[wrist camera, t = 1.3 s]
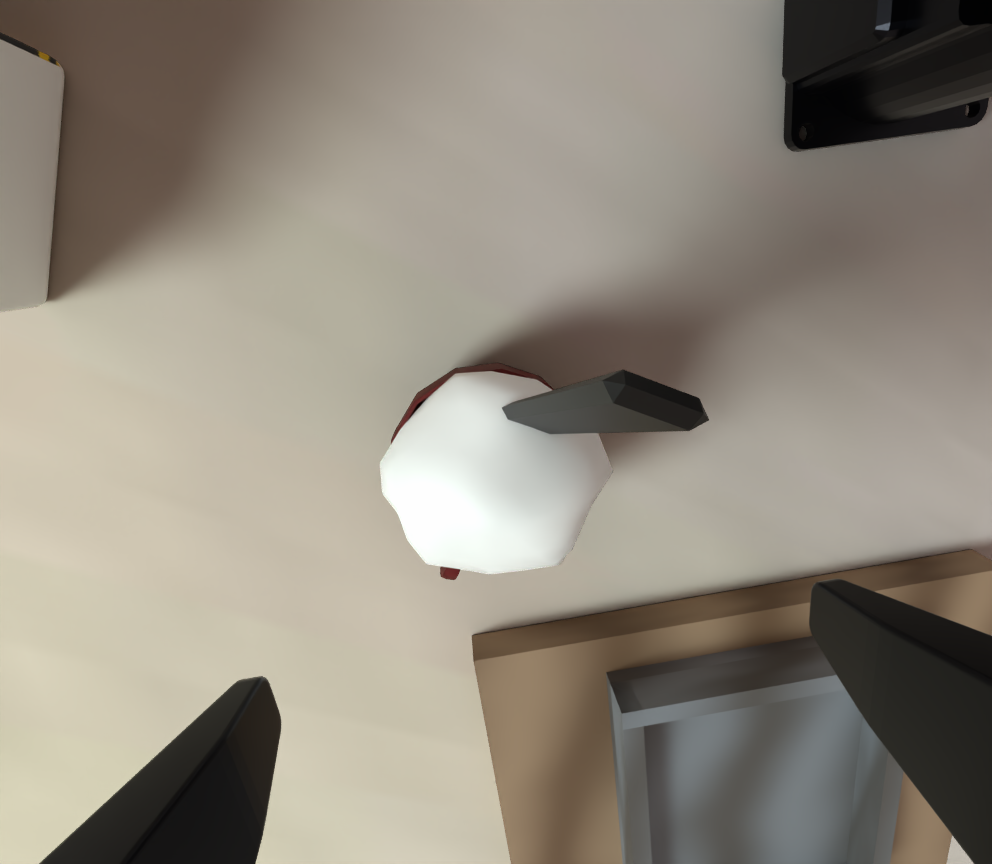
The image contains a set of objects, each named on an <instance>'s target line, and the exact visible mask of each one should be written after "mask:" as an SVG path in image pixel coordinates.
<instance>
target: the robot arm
mask: <svg viewBox="0 0 992 864" xmlns="http://www.w3.org/2000/svg"><path fill="white" fill-rule="evenodd" d="M782 76H783V77H784V79H785V81H786V86H785V116H784V141H785V144H786V146H787V148H788V149H790V150H792V151H797V152H799V151H806V150H813V149H820V148H827V147H834V146H841V145H848V144H856V143H863V142H870V141H877V140H884V139H891V138H898V137H905V136H912V135H919V134H927V133H934V132H941V131H948V130H955V129H961V128H965V127H970V126H973V125H975V124H977V123H978V122H979V121H981V120H982V118H983V117H984V115H985V113H986V110H987V107H988V100H989V97H992V0H785V5H784V37H783V68H782ZM966 105H968V106H969V112H968V115H967V116H966V115H965V108H966ZM801 126H803V127H804V128H805V129H806V133H807V134H806V137H805V139H804V140H803V141H802V140H801V139H800V138H799V130H800V128H801ZM809 626H810V631H811V634H812V636H813V638H814V640H815V641H816V643H817V645H818V646H819V648H820V649H821V651H822V653H823V654H824V656H825V657H826V659H827V660H828V662H829V664H830V665H831V667H832V668H833V670H834V672H835V673H836V675H837V676H838V678H839V680H840V681H841V683H842V684H843V686H844V688H845V689H846V691H847V692H848V694H849V696H850V697H851V699H852V700H853V702H854V703H855V705H856V707H857V708H858V710H859V711H860V713H861V714H862V716H863V717H864V719H865V720H866V722H867V723H868V725H869V726H870V728H871V729H872V730H873V732H874V733H875V734H876V736H877V737H878V738H879V740H880V741H881V742H882V744H883V745H884V746H885V748H886V749H887V750H888V752H889V753H890V754H891V755H892V757H893V758H894V759H895V761H896V762H897V763H898V765H899V766H900V767H901V769H902V770H903V771H904V772H905V774H906V775H907V776H908V778H909V779H910V780H911V782H912V783H913V784H914V786H915V787H916V788H917V790H918V791H919V792H920V793H921V795H922V796H923V797H924V799H925V800H926V801H927V803H928V804H929V805H930V807H931V808H932V809H933V810H934V812H935V813H936V814H937V816H938V817H939V818H940V820H941V821H942V822H943V824H944V825H945V826H946V827H947V829H948V830H949V831H950V833H951V834H952V835H953V837H954V838H955V839H956V841H957V842H958V843H959V844H960V846H961V847H962V848H963V850H964V851H965V852H966V854H967V855H968V856H969V858H970V859H971V860H972V861H973V863H974V864H992V636H991V635H989V634H986V633H983V632H981V631H978V630H975V629H973V628H970V627H968V626H965V625H962V624H960V623H957V622H954V621H952V620H949V619H946V618H944V617H941V616H938V615H936V614H933V613H930V612H928V611H925V610H922V609H920V608H917V607H914V606H912V605H909V604H906V603H904V602H901V601H899V600H896V599H893V598H891V597H888V596H885V595H883V594H880V593H877V592H875V591H872V590H869V589H867V588H864V587H861V586H859V585H856V584H853V583H851V582H848V581H846V580H843V579H830V580H824V581H819V582H816V583H815V584H814V585H813V586H812V589H811V600H810V615H809ZM280 733H281V717H280V713H279V710H278V707H277V704H276V701H275V698H274V695H273V692H272V689H271V687H270V684H269V682H268V680H267V679H266V678H265V677H262V676H260V677H254V678H248V679H242V680H239V681H237V682H236V683H235V684H233V685H232V686H231V687H230V688H229V689H228V690H227V691H226V692H225V693H224V694H223V695H222V696H220V697H219V698H218V699H217V700H216V701H215V702H214V703H213V704H212V705H211V706H210V707H209V708H207V709H206V710H205V711H204V712H203V713H202V714H201V715H200V716H199V717H198V718H197V719H196V720H194V721H193V722H192V723H191V724H190V725H189V726H188V727H187V728H186V729H185V730H184V731H183V732H181V733H180V734H179V735H178V736H177V737H176V738H175V739H174V740H173V741H172V742H171V743H170V744H168V745H167V746H166V747H165V748H164V749H163V750H162V751H161V752H160V753H159V754H158V755H157V756H155V757H154V758H153V759H152V760H151V761H150V762H149V763H148V764H147V765H146V766H145V767H143V768H142V769H141V770H140V771H139V772H138V773H137V774H136V775H135V776H134V777H133V778H132V779H130V780H129V781H128V782H127V783H126V784H125V785H124V786H123V787H122V788H121V789H120V790H119V791H117V792H116V793H115V794H114V795H113V796H112V797H111V798H110V799H109V800H108V801H107V802H106V803H104V804H103V805H102V806H101V807H100V808H99V809H98V810H97V811H96V812H95V813H94V814H93V815H91V816H90V817H89V818H88V819H87V820H86V821H85V822H84V823H83V824H82V825H81V826H80V827H78V828H77V829H76V830H75V831H74V832H73V833H72V834H71V835H70V836H69V837H68V838H66V839H65V840H64V841H63V842H62V843H61V844H60V845H59V846H58V847H57V848H56V849H55V850H53V851H52V852H51V853H50V854H49V855H48V856H47V857H46V858H45V859H44V860H43V861H42V862H40V863H39V864H255V863H256V859H257V855H258V852H259V848H260V844H261V840H262V836H263V831H264V826H265V821H266V815H267V810H268V804H269V798H270V792H271V786H272V780H273V774H274V768H275V762H276V757H277V751H278V745H279V739H280Z"/></svg>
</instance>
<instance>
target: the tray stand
mask: <svg viewBox="0 0 992 864" xmlns="http://www.w3.org/2000/svg"><path fill="white" fill-rule="evenodd" d="M830 579H843V580H846V581H848V582H851V583H853V584H856V585H859V586H861V587H864V588H867V589H869V590H872V591H875V592H877V593H880V594H883V595H885V596H888V597H891V598H893V599H896V600H899V601H901V602H904V603H906V604H909V605H912V606H914V607H917V608H920V609H922V610H925V611H928V612H930V613H933V614H936V615H938V616H941V617H944V618H946V619H949V620H952V621H954V622H957V623H960V624H962V625H965V626H968V627H970V628H973V629H975V630H978V631H981V632H983V633H986V634H989V635H991V636H992V561H991V560H989V559H988V558H986V557H984V556H982V555H981V554H979V553H977V552H976V551H974V550H972V549H971V550H965V551H959V552H953V553H948V554H942V555H936V556H930V557H924V558H919V559H913V560H907V561H901V562H895V563H890V564H884V565H878V566H872V567H866V568H861V569H855V570H849V571H843V572H838V573H832V574H826V575H820V576H814V577H809V578H803V579H797V580H791V581H785V582H780V583H774V584H768V585H762V586H756V587H751V588H745V589H739V590H733V591H728V592H722V593H716V594H710V595H704V596H699V597H693V598H687V599H681V600H675V601H670V602H664V603H658V604H652V605H646V606H641V607H635V608H629V609H623V610H618V611H612V612H606V613H600V614H594V615H589V616H583V617H577V618H571V619H565V620H560V621H554V622H548V623H542V624H537V625H531V626H525V627H519V628H513V629H508V630H502V631H496V632H490V633H484V634H479V635H473V636H472V645H473V659H474V666H475V671H476V676H477V682H478V687H479V693H480V698H481V703H482V709H483V714H484V720H485V725H486V730H487V736H488V741H489V747H490V752H491V757H492V763H493V768H494V773H495V779H496V784H497V790H498V795H499V800H500V806H501V811H502V817H503V822H504V827H505V833H506V838H507V844H508V849H509V854H510V860H511V864H946V862H947V857H948V852H949V847H950V842H951V837H952V834H951V833H950V831H949V830H948V829H947V827H946V826H945V825H944V824H943V822H942V821H941V820H940V818H939V817H938V816H937V814H936V813H935V812H934V810H933V809H932V808H931V807H930V805H929V804H928V803H927V801H926V800H925V799H924V797H923V796H922V795H921V793H920V792H919V791H918V790H917V788H916V787H915V786H914V784H913V783H912V782H911V780H910V779H909V778H908V776H907V775H906V774H905V772H904V771H903V770H902V769H901V767H900V766H899V765H898V763H897V762H896V761H895V759H894V758H893V757H892V755H891V754H890V753H889V752H888V750H887V749H886V748H885V746H884V745H883V744H882V742H881V741H880V740H879V738H878V737H877V736H876V734H875V733H874V732H873V730H872V729H871V728H870V726H869V725H868V723H867V722H866V720H865V719H864V717H863V716H862V714H861V713H860V711H859V710H858V708H857V707H856V705H855V703H854V702H853V700H852V699H851V697H850V696H849V694H848V692H847V691H846V689H845V688H844V686H843V684H842V683H841V681H840V680H839V678H838V676H837V675H836V673H835V672H834V670H833V668H832V667H831V665H830V664H829V662H828V660H827V659H826V657H825V656H824V654H823V653H822V651H821V649H820V648H819V646H818V645H817V643H816V641H815V640H814V638H813V636H812V634H811V631H810V626H809V615H810V600H811V589H812V586H813V585H814V584H815V583H816V582H819V581H824V580H830Z"/></svg>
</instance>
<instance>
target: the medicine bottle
mask: <svg viewBox="0 0 992 864" xmlns="http://www.w3.org/2000/svg"><path fill="white" fill-rule="evenodd" d="M64 78H65V76H64V70H63V68H62V67H61V65H60V64H59V63H58V62H57V61H56V60H55V59H53V58H52V57H50V56H49V55H47V54H44V53H42V52H40V51H38V50H36V49H34V48H32V47H30V46H28V45H26V44H24V43H22V42H20V41H17V40H15V39H13V38H11V37H9V36H7V35H5V34H3V33H1V32H0V312H6V311H13V310H20V309H26V308H33V307H38V306H40V305H42V304H43V303H45V301H46V299H47V293H48V280H49V268H50V255H51V242H52V230H53V217H54V204H55V192H56V179H57V167H58V154H59V141H60V129H61V116H62V103H63V91H64Z"/></svg>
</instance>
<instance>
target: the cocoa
mask: <svg viewBox="0 0 992 864" xmlns="http://www.w3.org/2000/svg"><path fill="white" fill-rule="evenodd" d="M708 420H709V419H708V416H707V414H706V412H705V410H704V408H703V406H702V403H701V401H700V399H699V398H697V397H695V396H692V395H689V394H687V393H684V392H681V391H679V390H676V389H673V388H671V387H668V386H665V385H663V384H660V383H657V382H655V381H652V380H649V379H647V378H644V377H641V376H639V375H636V374H633V373H631V372H628V371H625V370H621V371H617V372H614V373H610V374H607V375H603V376H600V377H597V378H593V379H590V380H586V381H583V382H579V383H576V384H573V385H569V386H566V387H562V388H559V389H556V390H554V389H553V388H552V387H551V386H550V385H549V384H548V383H547V382H545V381H544V380H543V379H542V378H541V377H540V376H537V375H534V374H531V373H528V372H525V371H522V370H519V369H516V368H513V367H510V366H507V365H504V364H500V363H491V364H484V365H476V366H469V367H461V368H455V369H453V370H452V371H450V372H449V373H447V374H446V375H444V376H443V377H441V378H440V379H438V380H436V381H435V382H433V383H432V384H430V385H429V386H427V387H426V388H424V389H423V390H421V391H420V392H418V393H417V394H416V396H415V398H414V399H413V401H412V403H411V404H410V406H409V408H408V409H407V411H406V413H405V415H404V416H403V418H402V420H401V421H400V423H399V425H398V426H397V428H396V430H395V432H394V434H393V437H392V440H391V446H390V447H389V449H388V451H387V452H386V454H385V455H384V457H383V459H382V460H381V462H380V473H381V484H382V494H383V495H384V496H385V498H386V499H387V500H388V501H389V503H390V504H391V505H392V507H393V508H394V509H395V511H396V512H397V513H398V516H399V518H400V521H401V524H402V526H403V529H404V532H405V535H406V537H407V540H408V542H409V543H410V544H411V545H412V547H413V548H414V549H415V550H416V552H417V553H418V554H419V555H420V557H421V558H422V559H423V560H424V561H425V563H426V564H430V565H436V566H441V568H440V574H441V577H443V578H445V579H450V580H455V579H456V578H457V576H458V574H459V572H460V569H461V570H467V571H473V572H478V573H484V574H498V573H507V572H515V571H523V570H530V569H537V568H544V567H551V566H556V565H560V564H561V563H562V561H563V560H564V558H565V557H566V555H567V554H568V553H569V552H570V551H571V550H572V549H573V547H574V544H575V542H576V540H577V538H578V535H579V533H580V531H581V528H582V526H583V524H584V522H585V519H586V517H587V515H588V512H589V510H590V508H591V506H592V504H593V502H594V501H595V499H596V498H597V496H598V495H599V493H600V491H601V490H602V488H603V487H604V485H605V483H606V482H607V480H608V479H609V477H610V476H611V474H612V472H613V470H612V467H611V465H610V462H609V459H608V457H607V454H606V452H605V449H604V447H603V444H602V441H601V439H600V436H599V434H598V433H620V432H660V431H690V430H692V429H694V428H695V427H697V426H699V425H701V424H703V423H704V422H706V421H708Z"/></svg>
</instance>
